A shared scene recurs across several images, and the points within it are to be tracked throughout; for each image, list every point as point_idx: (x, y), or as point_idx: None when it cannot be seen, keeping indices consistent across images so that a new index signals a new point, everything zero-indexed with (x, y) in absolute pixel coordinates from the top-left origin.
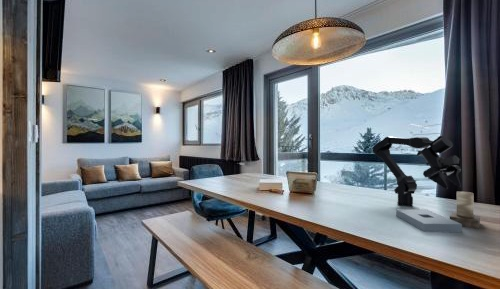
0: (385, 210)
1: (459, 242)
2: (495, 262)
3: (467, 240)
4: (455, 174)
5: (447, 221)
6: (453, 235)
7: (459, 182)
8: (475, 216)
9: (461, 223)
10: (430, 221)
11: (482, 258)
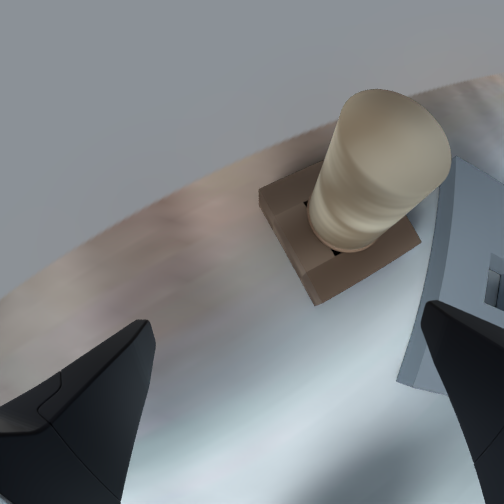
0: (464, 486)
1: (493, 138)
2: (485, 76)
3: (469, 134)
4: (32, 446)
5: (481, 196)
6: None
7: (115, 345)
8: (290, 192)
9: None
10: None
11: (495, 90)
